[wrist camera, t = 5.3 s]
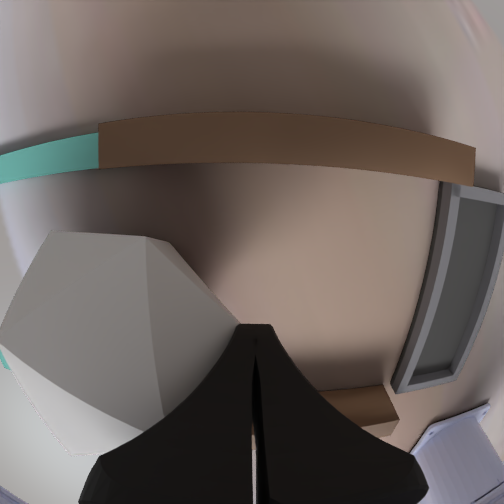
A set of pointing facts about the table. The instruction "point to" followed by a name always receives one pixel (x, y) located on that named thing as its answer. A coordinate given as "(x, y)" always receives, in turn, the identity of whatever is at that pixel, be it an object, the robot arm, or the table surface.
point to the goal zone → (49, 163)
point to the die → (110, 336)
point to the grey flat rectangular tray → (453, 286)
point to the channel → (292, 152)
